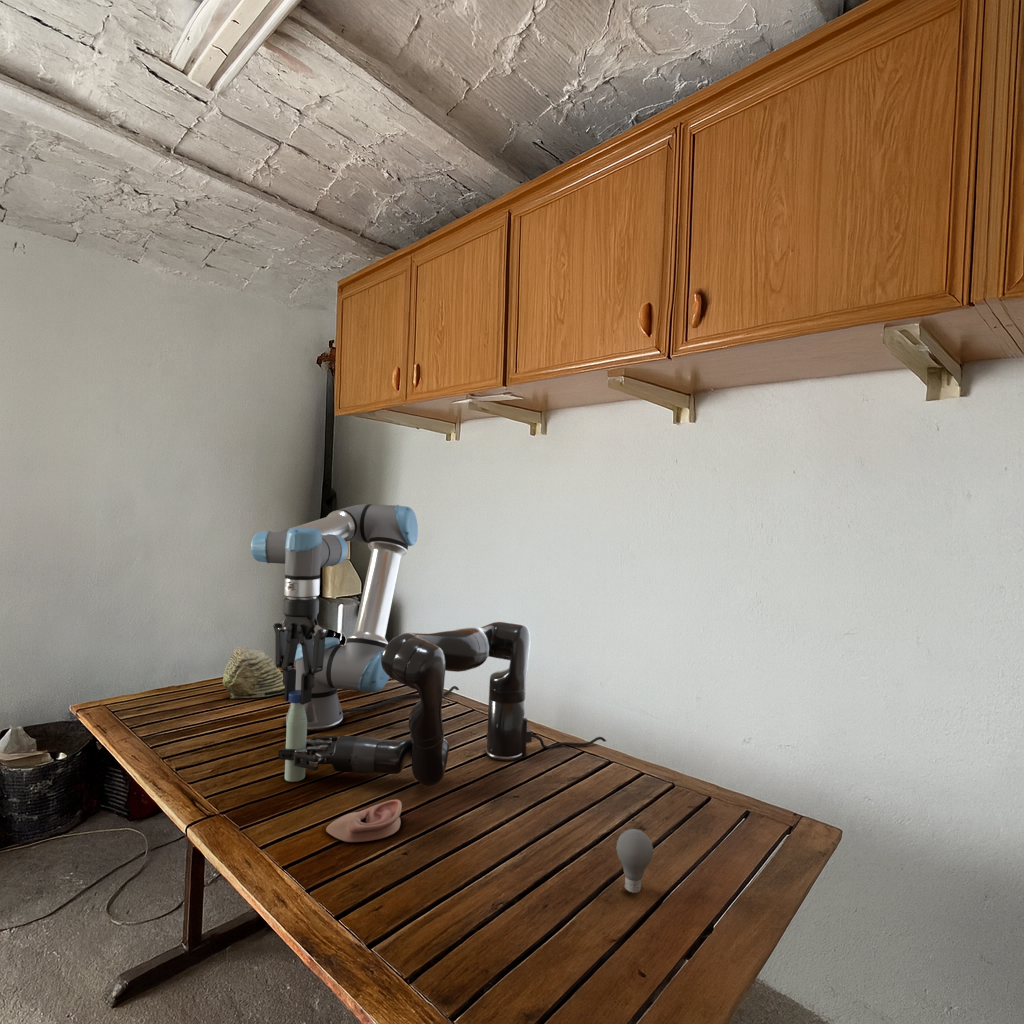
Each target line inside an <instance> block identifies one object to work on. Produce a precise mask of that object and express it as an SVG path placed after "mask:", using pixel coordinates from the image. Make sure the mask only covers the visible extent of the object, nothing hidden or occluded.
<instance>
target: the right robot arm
mask: <svg viewBox="0 0 1024 1024" xmlns="http://www.w3.org/2000/svg"><path fill="white" fill-rule="evenodd" d="M530 651H531V632H530V629H529V627H528V626H527V625H525V624H520V623H515V622H507V621H495V622H492V623H488V624H486V625H483V626H480V627H464V628H463V627H462V628H457V629H453V630H446V631H445V630H444V631H437V632H432V633H419V632H417V633H416V632H403V633H400V634H399V635H397V636H395V637H393V638H392V639H391V640H390V641H388V644H387V645H386V647H385V648H384V650H383V653H382V656H381V665H382V668H383V670H384V671H385V673H386V674H387V675H388V676H390V678H391V679H393V680H395V681H397V682H398V683H400V684H401V685H404V686H406V687H408V688H410V689H412V690H416V691H417V694H419V695H420V697H419V701H417V702H416V703H415V704H414V706H413V707H412V709H411V711H410V713H409V716H408V729H409V734H410V737H409V738H404V739H403V738H402V739H397V740H394V739H384V738H383V739H382V738H375V737H371V736H370V737H369V736H355V735H340V736H338V735H321V736H311V737H310V739H308V738H307V739H306V749H297V750H296V749H286V747H285V748H284V747H283V748H281V747H280V749H278V755H277V758H278V760H282V761H285V760H294V766H297V767H302V768H305V770H306V769H307V770H311V771H318V770H319V766H320V765H330V764H331V765H332V767H333V770H334V771H335V772H340V773H353V774H355V773H356V774H388V775H399V774H401V773H402V772H403V770H404V769H405V766H406V765H407V763H408V762H409V761H410V760H411V770H412V775H413V778H414V779H415V780H416V781H417V782H418V783H419V784H420V785H423V786H425V787H434V786H436V785H438V784H439V783H440V782H442V780H443V779H444V777H445V775H446V769H447V764H448V759H449V753H450V744H449V742H448V741H447V740H446V739H445V730H444V721H443V713H442V712H443V711H442V709H443V699H444V696H443V693H444V692H445V681H446V680H445V679H446V671H447V672H454V673H460V672H466V671H467V672H468V671H470V670H474V669H476V668H479V667H481V666H482V665H483V664H484V663H485V662H486V661H487V659H488V658H493V659H499V660H506V661H509V666H508V668H505V669H501V670H496V671H495V672H492V673H491V674H490V675H489V684H488V685H489V686H488V709H487V731H486V733H485V734H486V735H485V738H486V748H485V753H486V756H488V757H489V758H491V759H494V760H497V761H515V760H519V759H521V758H522V757H526V756H527V744H528V743H532V740H533V738H534V739H537V740H538V741H539V742H540V745H541V747H542V748H544V749H546V750H549V749H554V748H557V747H561V746H575V747H576V746H577V747H587V746H590V745H592V744H594V743H595V742H597V741H600V740H601V741H602V742H604V743H605V742H607V740H606V739H605V738H604V737H603V736H596V737H595V738H593V739H592V740H590V741H587V742H572V741H571V742H570V741H562V742H557V743H554V744H552V745H546V744H545V743H544V740H543V739H542V738H541V737H540V736H539V735H537V734H534V733H533V731H532V730H531V729H530V728H529V727H528V717H526V716H525V713H526V711H525V709H526V708H525V707H526V689H527V688H526V687H527V678H528V677H527V676H528V672H529V659H530ZM302 753H305V754H302Z"/></svg>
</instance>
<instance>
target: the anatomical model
mask: <svg viewBox="0 0 1024 1024" xmlns="http://www.w3.org/2000/svg"><path fill="white" fill-rule="evenodd" d="M402 808H403V804H402V802H401V800H399V799H391V800H387V801H383V802H380V803H377V804H374V805H372V806H370V807H367V808H365V809H362V810H360V811H353V812H350V813H347V814H344V815H342V816H340V817H338V818H337V819H335V820H333V821H332V822H330V823H329V825H327V826H326V828H325V832H326V833H327V834H329V835H330V836H332V837H333V838H335V839H338V840H340V841H342V842H345V843H360V842H361V843H363V842H371V841H375V840H381V839H384V838H387V837H389V836H392V835H394V834H395V833H397V832H398V831H399V829H400V827H401V824H402V823H401V817H400V816H401V813H402Z"/></svg>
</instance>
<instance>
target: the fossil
mask: <svg viewBox="0 0 1024 1024" xmlns="http://www.w3.org/2000/svg"><path fill="white" fill-rule="evenodd" d="M274 661H275V660H273V659H272V658H271V657H270V656H269V655H268V654H267V653H266V652H265V650H264V649H263V648H260V647H258V648H251V647H247V646H246V647H245V646H238V647H237V648H236V649H235V650H233V651H232V653H231V656H230V657H229V659H228V660H227V663H226V666H225V668H224V671H223V675H222V676H223V677H222V685H223V687H224V688H225V690H226V691H228V693H229V698H230V699H250V698H264V697H271V696H275V695H281V694H284V692H285V685H283V672H281V669H279V667H276V665H275V662H274Z"/></svg>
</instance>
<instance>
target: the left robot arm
mask: <svg viewBox="0 0 1024 1024" xmlns="http://www.w3.org/2000/svg"><path fill="white" fill-rule="evenodd" d="M418 525H419V524H418V519H417V516H416V513H415V512H414V510H413V508H411V507H410V506H405V505H400V504H393V505H392V504H371V503H362V504H355V505H351V506H347V507H344V508H339V509H336V510H333V511H331V512H330V513H328V515H327V516H326V517H323V518H319V519H315V520H313V521H310V522H306V523H303V524H299V525H296V526H293V527H290V528H287V529H282V530H278V531H270V530H268V531H259V532H256V533H255V534H254V536H253V537H252V540H251V542H250V554H251V556H252V558H253V559H254V560H255V561H257V562H261V563H267V564H282V565H284V587H283V590H284V591H283V596H284V597H285V598H284V599H283V610H282V612H283V615H284V619H283V621H280V622H276V623H275V622H274V623H273V626H272V627H273V630H274V634H275V636H274V637H275V638H274V640H275V641H274V642H275V644H274V645H275V652H274V653H275V657H274V658H275V659H274V661H275V662H274V663H275V665H276V668H280V670H281V671H282V675H283V685H285V691H284V692H283V694H284V695H283V696H284V697H283V698H284V699H283V701H284V702H289V701H288V700H289V692H290V691H293V690H301V702H300V704H302V705H304V707H305V711H306V712H305V713H306V717H307V733H316V732H325V731H329V730H332V729H335V728H337V727H339V726H340V725H342V723H343V722H344V713H352V712H353V713H354V712H365V711H369V710H373V709H375V708H376V709H377V708H379V707H381V706H385V705H388V704H390V703H391V702H393V701H397V700H400V699H407V698H408V699H409V698H420V695H419V693H415V694H403V695H402V694H401V695H398V696H394V697H391V698H389V699H387V700H385V701H382V702H378V703H376V704H373V705H369V706H366V707H353V708H345V709H342V706H341V702H340V699H339V695H338V689H339V690H347V691H354V692H356V691H357V692H360V693H377V692H380V691H381V690H382V689H383V688H384V687H385V686H386V685H387V684H388V682H389V680H390V678H391V677H390V676H388V675H387V674H386V673H385V671H384V670H383V668H382V665H381V656H382V653H383V650H384V648H385V647H386V645H387V644H388V643H389V641H388V640H387V638H386V634H387V629H388V624H389V619H390V614H391V610H392V609H391V608H392V604H393V599H394V594H395V588H396V584H397V580H398V579H397V578H398V574H399V568H400V563H401V559H402V557H404V556H405V555H406V554H408V551H409V550H408V549H409V547H412V546H415V545H416V543H417V542H418V536H419V526H418ZM347 542H355V543H367V547H368V549H369V550H370V552H371V553H370V557H369V562H368V567H367V572H366V576H365V581H364V585H363V590H362V594H361V599H360V604H359V608H358V613H357V618H356V621H355V622H356V623H355V627H354V632H353V633H352V634H350V635H349V636H347V638H346V641H345V644H343V645H342V644H340V643H341V641H340V639H339V638H338V637H334V636H333V637H327V636H328V633H329V628H327V627H324V628H323V627H322V626H320V625H319V621H318V619H317V617H318V614H319V612H320V599H319V598H318V597H319V595H320V592H321V590H320V587H321V586H320V585H321V568H327V567H335V566H336V565H340V564H342V563H343V562H344V561H345V560H346V558H347V557H348V553H349V545H348V543H347ZM454 690H456V691H460V689H459V687H458V686H456V685H453V686H451V687H450V688H449V689H448V690H447V691H443V697H444V696H446V695H449V694H451V693H452V692H453V691H454ZM290 708H291V703H289V708H288V711H287V713H286V715H285V726H286V727H287V718H288V715H289V712H290Z"/></svg>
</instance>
